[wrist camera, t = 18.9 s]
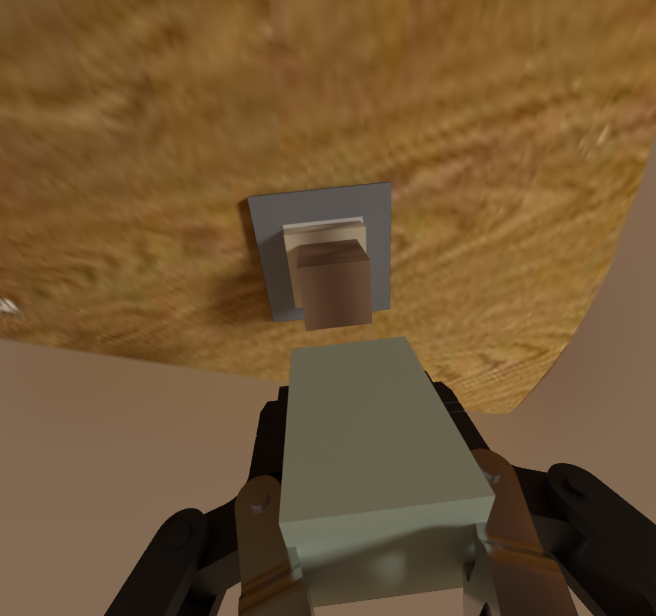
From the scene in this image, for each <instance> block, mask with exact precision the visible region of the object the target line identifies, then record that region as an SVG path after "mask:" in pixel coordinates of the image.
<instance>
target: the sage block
mask: <svg viewBox="0 0 656 616" xmlns="http://www.w3.org/2000/svg"><path fill="white" fill-rule="evenodd" d="M495 496H496V495H495V494H494V492H493V490H492V488H491V487H490V485H489V483H488V481H487V480H486V478H485V476H484V474H483V473H482V471H481V469H480V467H479V466H478V464H477V462H476V460H475V459H474V457H473V455H472V453H471V452H470V450H469V448H468V446H467V445H466V443H465V441H464V439H463V438H462V436H461V434H460V432H459V431H458V429H457V427H456V425H455V424H454V422H453V420H452V418H451V417H450V415H449V413H448V411H447V410H446V408H445V406H444V404H443V403H442V401H441V399H440V397H439V395H438V394H437V392H436V390H435V388H434V387H433V385H432V383H431V381H430V380H429V378H428V376H427V374H426V373H425V371H424V369H423V367H422V366H421V364H420V362H419V360H418V359H417V357H416V355H415V353H414V352H413V350H412V348H411V346H410V345H409V343H408V341H407V339H406V338H405V337H396V338H387V339H378V340H370V341H361V342H352V343H343V344H335V345H326V346H317V347H309V348H300V349H292V354H291V367H290V380H289V393H288V407H287V420H286V433H285V446H284V460H283V473H282V486H281V499H280V512H279V526H280V529H281V532H282V535H283V538H284V541H285V544H286V547H295V546H296V549H297V552H298V556H299V560H300V564H301V568H302V572H303V576H304V580H305V584H307V586H308V590H309V594H310V598H311V602H312V606H313V607H319V606H327V605H335V604H342V603H349V602H357V601H364V600H372V599H380V598H387V597H394V596H401V595H409V594H417V593H424V592H432V591H439V590H446V589H453V588H462V587H463V579H462V567H463V564H464V563H468V562H474V560H475V546H474V539H473V530H474V526H475V523H479V522H487V520H488V517H489V514H490V511H491V508H492V505H493V502H494V499H495Z"/></svg>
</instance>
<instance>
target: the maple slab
mask: <svg viewBox="0 0 656 616" xmlns="http://www.w3.org/2000/svg"><path fill="white" fill-rule="evenodd" d="M351 239H357V240H358V242H359V243H360V245H361V246H362V248H363V249H364V251H365V253H366V226H365V225H364V224H363V223H362V222H361V221H360V220H357V221H348V222H338V223H329V224H320V225H311V226H301V227H292V228H286V230H285V233H284V240H285V246H286V252H287V258H288V264H289V271H290V277H291V283H292V289H293V295H294V301H295V307H296V308H302V307H303V305H302V299H301V292H300V285H299V279H298V272H297V262H298V251H299V245H304V244H314V243H323V242H332V241H341V240H351Z"/></svg>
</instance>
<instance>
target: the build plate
mask: <svg viewBox="0 0 656 616" xmlns="http://www.w3.org/2000/svg"><path fill="white" fill-rule="evenodd" d="M247 198H248V203H249V208H250V213H251V217H252V222H253V227H254V232H255V236H256V241H257V246H258V250H259V255H260V260H261V265H262V269H263V274H264V279H265V284H266V288H267V293H268V298H269V302H270V307H271V312H272V317H273V321H274V322H281V321H290V320H298V319H304V312H303V307H302V308H296V307H295V301H294V295H293V289H292V283H291V277H290V271H289V264H288V258H287V252H286V246H285V240H284V233H285V230H286V228H292V227H301V226H311V225H320V224H329V223H338V222H348V221H357V220H360V221H361V222H362V223H363V224H364V225H365V226H366V254H367V256H368V257H369V259H370V263H371V309H372V311H378V310H386V309H390V242H391V182H380V183H371V184H361V185H352V186H342V187H333V188H323V189H314V190H305V191H295V192H286V193H276V194H267V195H257V196H249V197H247Z"/></svg>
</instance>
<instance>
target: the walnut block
mask: <svg viewBox="0 0 656 616" xmlns="http://www.w3.org/2000/svg"><path fill="white" fill-rule="evenodd" d="M297 272H298V279H299V285H300V292H301V299H302V305H303V312H304V319H305V325H306V331H309V330H317V329H326V328H335V327H344V326H353V325H361V324H370V323H372V309H371V263H370V259H369V257H368V256H367V254H366V253H365V251H364V249H363V248H362V246H361V245H360V243H359V242H358V240H357V239H351V240H341V241H332V242H323V243H314V244H304V245H299V251H298V262H297Z"/></svg>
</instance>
